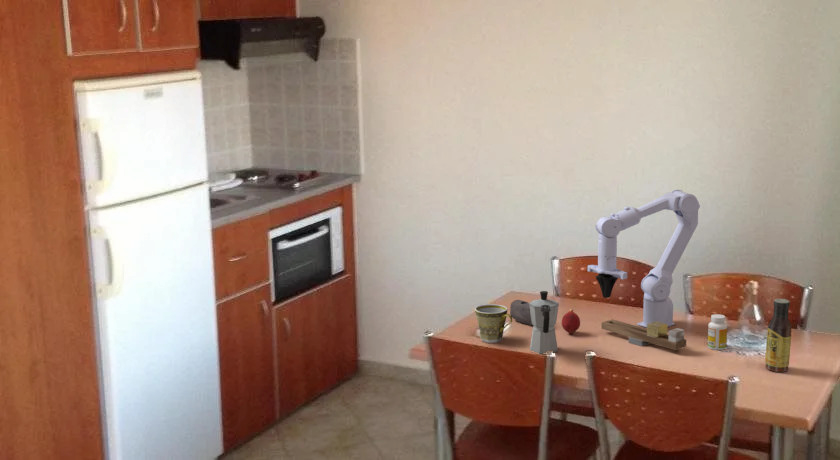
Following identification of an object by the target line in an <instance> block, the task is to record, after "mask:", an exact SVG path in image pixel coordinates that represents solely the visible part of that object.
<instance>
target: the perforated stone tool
mask: <svg viewBox="0 0 840 460" xmlns="http://www.w3.org/2000/svg"><path fill="white" fill-rule="evenodd" d="M529 303H530V302H528V301H525V300H521V299H515V300H513V301H512V302H511V303H510V308H509V311H510V312H509V315H511V317H512V320H515V321H517V322H519V323H520V324H525V325H528V326H532V327H534V325H533V324H532V322H531V314H530V307H529Z"/></svg>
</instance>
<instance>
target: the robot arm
mask: <svg viewBox="0 0 840 460" xmlns="http://www.w3.org/2000/svg"><path fill="white" fill-rule="evenodd" d="M700 208H701V205H700V203H699V201H698V198H697V197H696V195H694V194H692V193H687V192H685V191H684V190H681V189H674V190H672V191H669V192H666V193H664V194H663V195H661V196H659V197H657V198H655V199H652V200H651V201H649V202H647V203H645V204H642V206H639V207H637V208H636V207H633V206H630V207H629V206H624V207H623V210H620V211H619V212H616V213H614V212H613V213H610V215H609V216H602V217H600V218H599V219H598V221H597V222H596V224H595V230H596V231H597V233H598V237H597V238H598V240H597V242H598V243H597V265H596V264H588V265H587V272H589V273H597V275H596V276H595V279H596V281H597V282H598V284H599V286H600V291H601V295H602V297H603V299H608V298H611V296H612V292H613V288H614V287H615V284H616V282H617V281H618V279H620V280H627V279H628V272H626V271H623V270H620V269H619V268H617V259H618V257H617V252H618V251H617V250H618V244H617V243H618V240H617V239H618V236H619V234H620V232H623V231H624V230H626V229H629V228H631V227H634V226H636V225H639V224H640V222H641V220H642V219H643V218H645V217H648V216H650V215H652V214H653V215H654V214H656V213H658V212H661V211H664V210H668V211H673V212H674V213H675V216H676V218H677V221H678V223H677V226H676V228H675V229H674V231H673V234H672V235H671V237H670V239H669V241H668V244H667V245H666V247H665V249H664V251H663V252H662V255H661V257H660V258H659V260H658V263H657V264H656V266H655V267H654V268H652V269H650V271H649V273H648V274H647V275H646V276H644V277H643V279H642V280H641V283H640V288H641V290H642V292H643V293H644V294H643V306H642V307H643V308H642V309H643V310H642V316H643V317H642V321H640V322H637V323H636V326H639V327H642V328H647V324H649V323H652V322H655V321H658V322H662V323H666V324H668V325H667V328H668V327H671V326H674V325H675V324H676V323H675V322H674V303H673V301H672V299H671V298H670V297H669V296H670V294H671V287H672V284H673V281H674V280H673V273H674V271H675V269H676V267H677V265H678V263H679V262H680V260H681V258H682V256H683V254H684V252H685V250H686V248H687V246H688V244H689V243H690V241H691V239H692V237H693V234H694V233H695V231H696V229H697V227H698V224H699V209H700Z"/></svg>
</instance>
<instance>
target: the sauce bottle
mask: <svg viewBox="0 0 840 460" xmlns="http://www.w3.org/2000/svg"><path fill="white" fill-rule="evenodd" d="M790 304H791V303H790V300H788V299H787V298H775V299H774V300H773V313H772V316H771V319H770V322H769V324H768V326H767V331H766V332H767V333H766V345H765V357H764V364H765V368H766V370H769V371H771V372H773V373H776V372H777V373H783V372H786V371H788V370H789V366H790V359H791V358H790V357H791V356H790V355H791V354H790V353H791V346H792V345H791V344H792V327H793V326H792V323H791V321H790V320H789V307H790V306H791V305H790Z"/></svg>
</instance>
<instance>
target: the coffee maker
mask: <svg viewBox="0 0 840 460" xmlns="http://www.w3.org/2000/svg"><path fill="white" fill-rule="evenodd" d="M539 294H540V298H539V299H535V300H532V301H531V302H528V303H529V307H530V314H531V322H532V324H533V325H534V326H532V333H531V338H530V339H531V340H530V344H529V345H530V346H529V350H531V351H534V352H537V353H539V354H538V355H544V354H543V353H546V352H547V351H553V352H555V353H558V352H559V349H558V343H557V342H558V341H557V335H556V330H555V326H556V324H557V320H558V313H559V306H560V304H559V303H560V302H557V301H555V299H554V300H553V299H548V295H549V292H548V291H547V290H541V291H539ZM531 351H530V352H531ZM555 353H554V354H555Z"/></svg>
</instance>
